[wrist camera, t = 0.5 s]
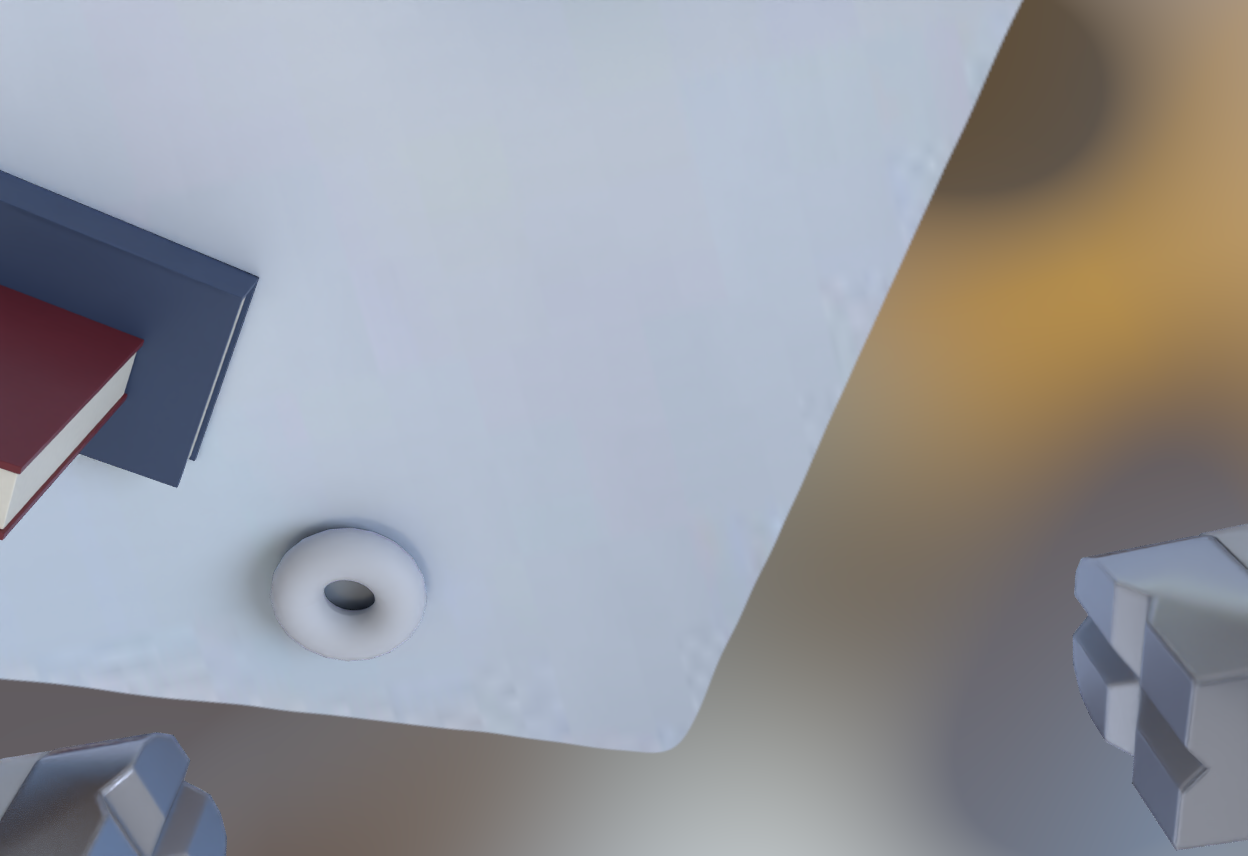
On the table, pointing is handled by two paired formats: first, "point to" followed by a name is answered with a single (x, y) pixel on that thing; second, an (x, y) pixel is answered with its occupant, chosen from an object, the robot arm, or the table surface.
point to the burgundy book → (52, 393)
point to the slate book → (132, 317)
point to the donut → (352, 560)
